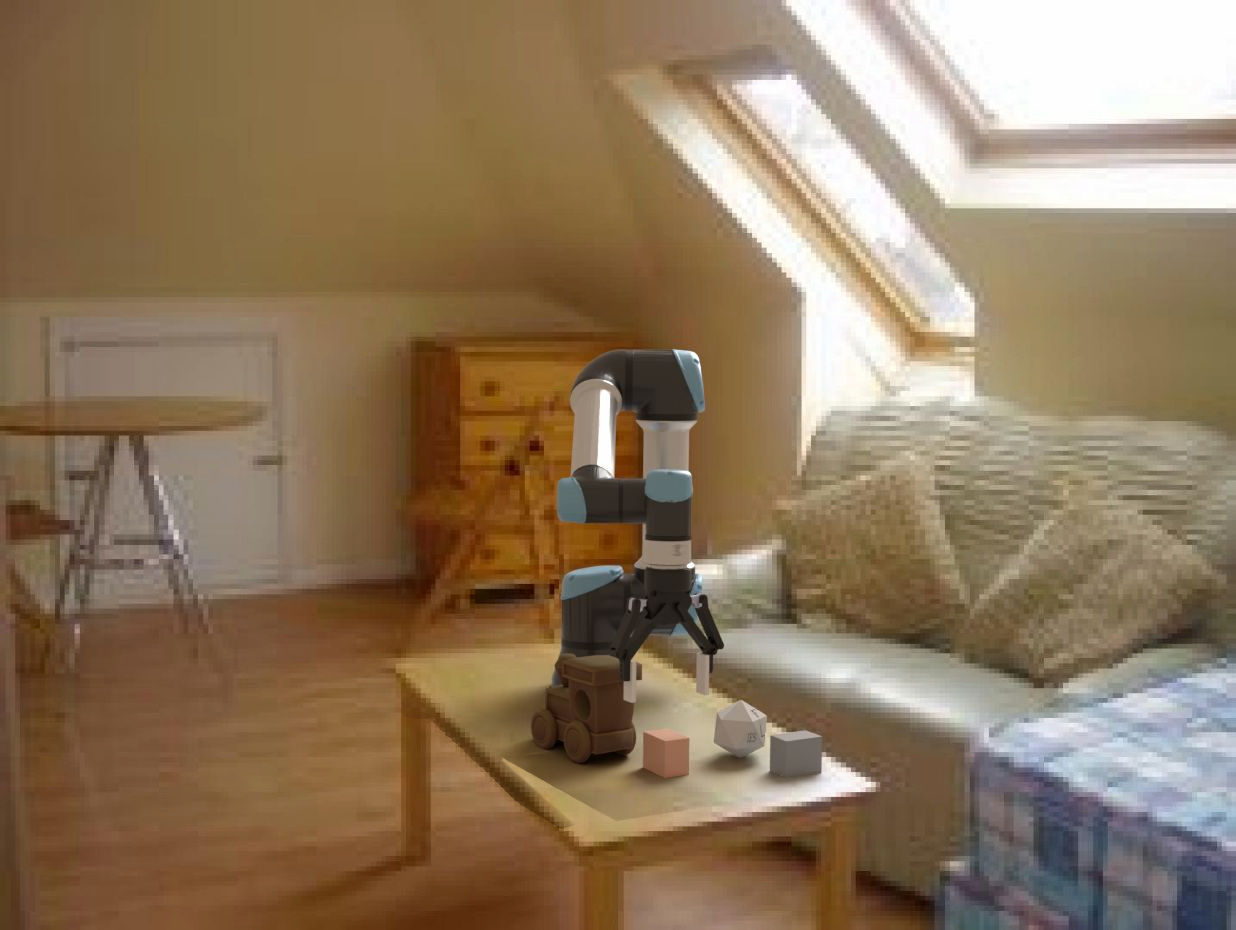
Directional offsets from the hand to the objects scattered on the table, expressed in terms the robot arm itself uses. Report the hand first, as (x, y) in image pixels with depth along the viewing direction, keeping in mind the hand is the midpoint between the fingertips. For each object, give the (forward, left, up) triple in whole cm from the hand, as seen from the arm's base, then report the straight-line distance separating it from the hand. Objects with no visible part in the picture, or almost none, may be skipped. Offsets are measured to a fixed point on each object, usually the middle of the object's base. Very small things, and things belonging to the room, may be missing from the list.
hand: (666, 697), depth 242 cm
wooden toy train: (-16, -6, -12) cm, 21 cm away
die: (-1, +15, -12) cm, 20 cm away
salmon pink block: (0, 0, -12) cm, 12 cm away
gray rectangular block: (+10, +19, -12) cm, 24 cm away
